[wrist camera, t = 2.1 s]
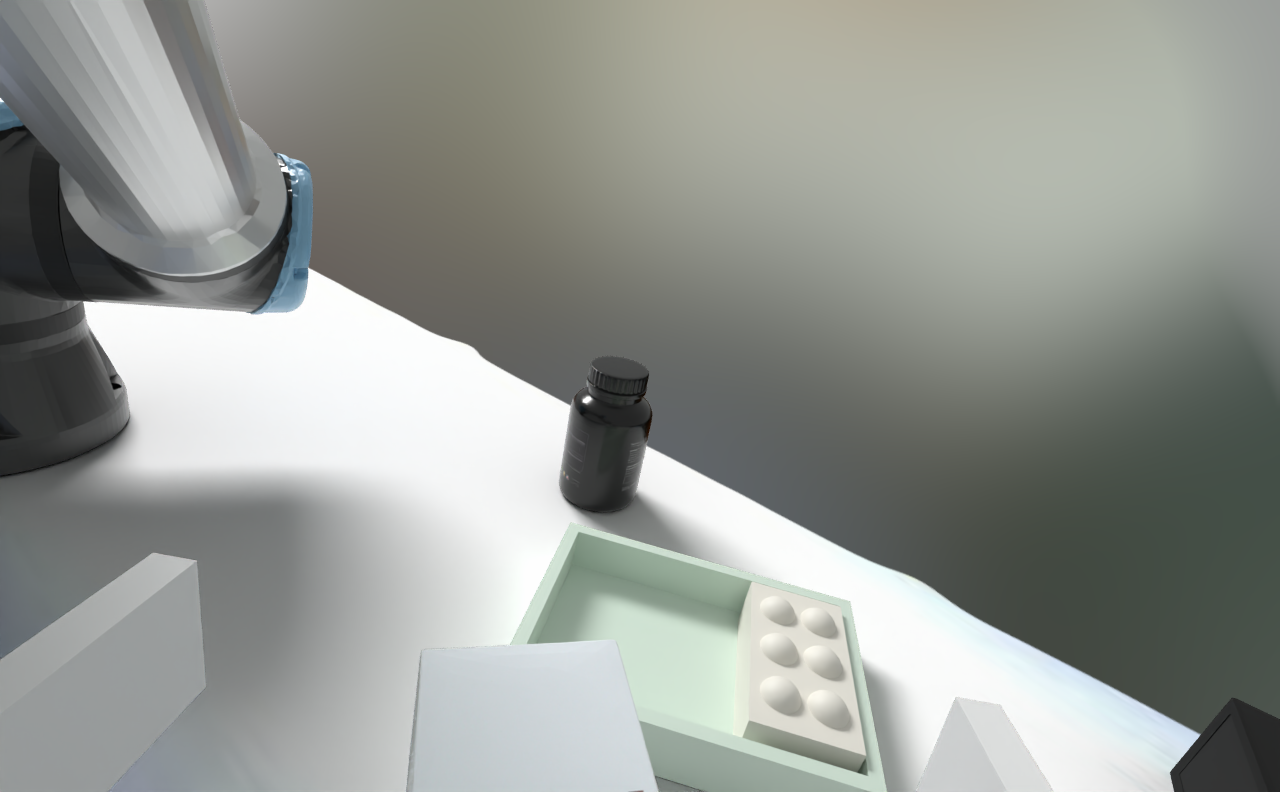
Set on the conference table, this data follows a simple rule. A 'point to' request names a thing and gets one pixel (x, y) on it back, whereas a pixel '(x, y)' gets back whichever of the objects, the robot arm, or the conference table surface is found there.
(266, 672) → the conference table surface
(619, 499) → the supplement bottle
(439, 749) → the supplement box
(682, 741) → the pale green tray
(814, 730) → the egg carton
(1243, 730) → the digital camera
